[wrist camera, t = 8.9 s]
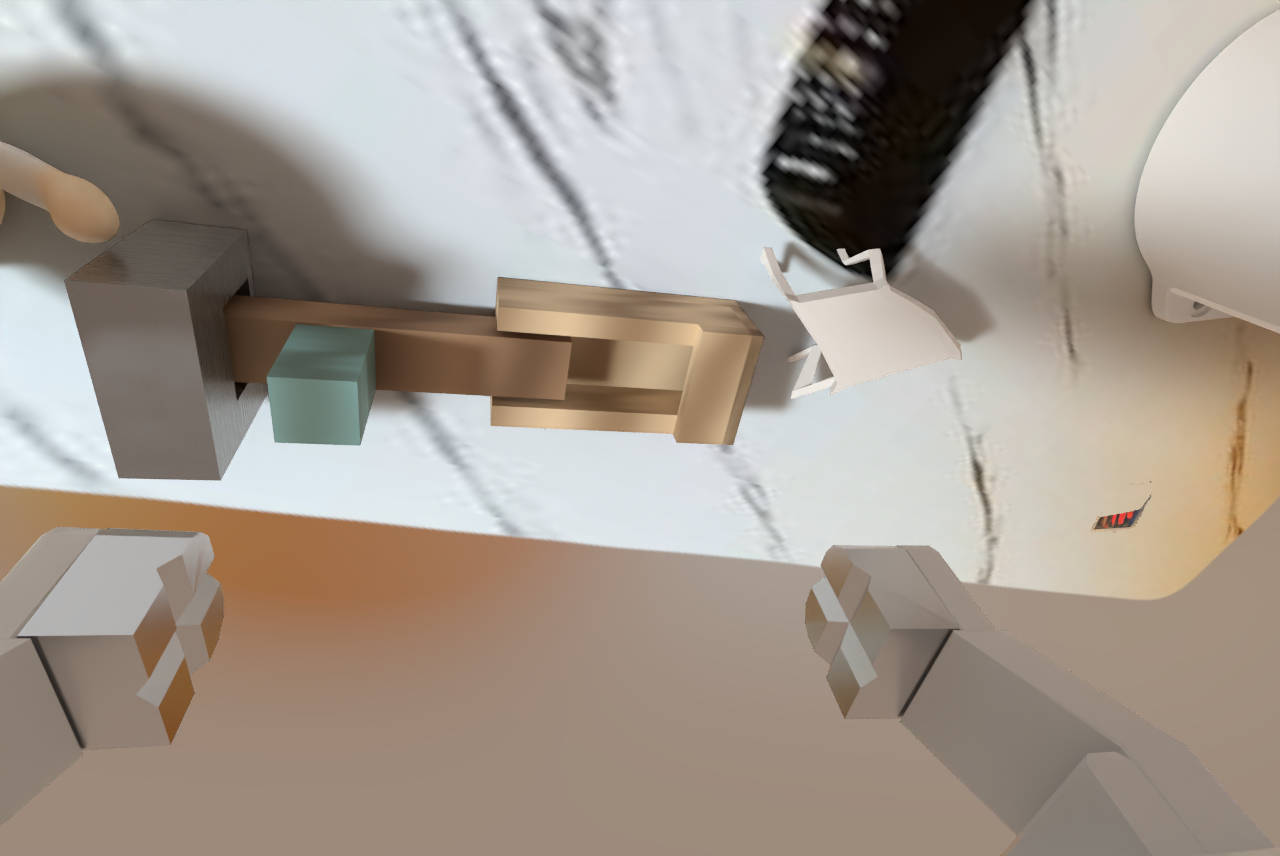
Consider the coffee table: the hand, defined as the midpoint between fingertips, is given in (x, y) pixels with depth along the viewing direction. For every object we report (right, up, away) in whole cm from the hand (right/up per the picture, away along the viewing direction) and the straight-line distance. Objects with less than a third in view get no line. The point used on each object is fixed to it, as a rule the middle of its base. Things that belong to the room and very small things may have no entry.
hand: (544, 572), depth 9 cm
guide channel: (0, +6, +26) cm, 26 cm away
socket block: (-18, +7, +21) cm, 28 cm away
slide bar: (-10, +6, +22) cm, 25 cm away
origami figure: (+12, +9, +27) cm, 31 cm away
